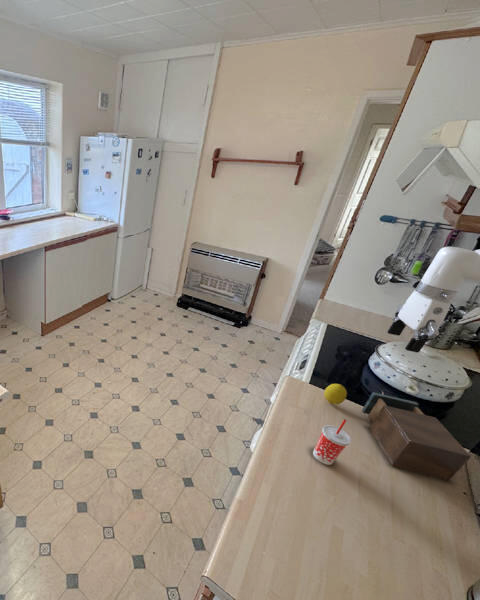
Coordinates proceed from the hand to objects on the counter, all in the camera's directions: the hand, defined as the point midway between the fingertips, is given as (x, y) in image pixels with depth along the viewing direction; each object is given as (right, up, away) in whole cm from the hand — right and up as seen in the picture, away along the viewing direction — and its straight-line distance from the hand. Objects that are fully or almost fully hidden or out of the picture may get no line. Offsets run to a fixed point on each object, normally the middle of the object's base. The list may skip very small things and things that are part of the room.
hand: (401, 342), depth 97 cm
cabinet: (-5, -31, -6) cm, 32 cm away
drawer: (-2, -26, +2) cm, 26 cm away
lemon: (-14, -22, +10) cm, 28 cm away
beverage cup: (-31, -30, -9) cm, 45 cm away
